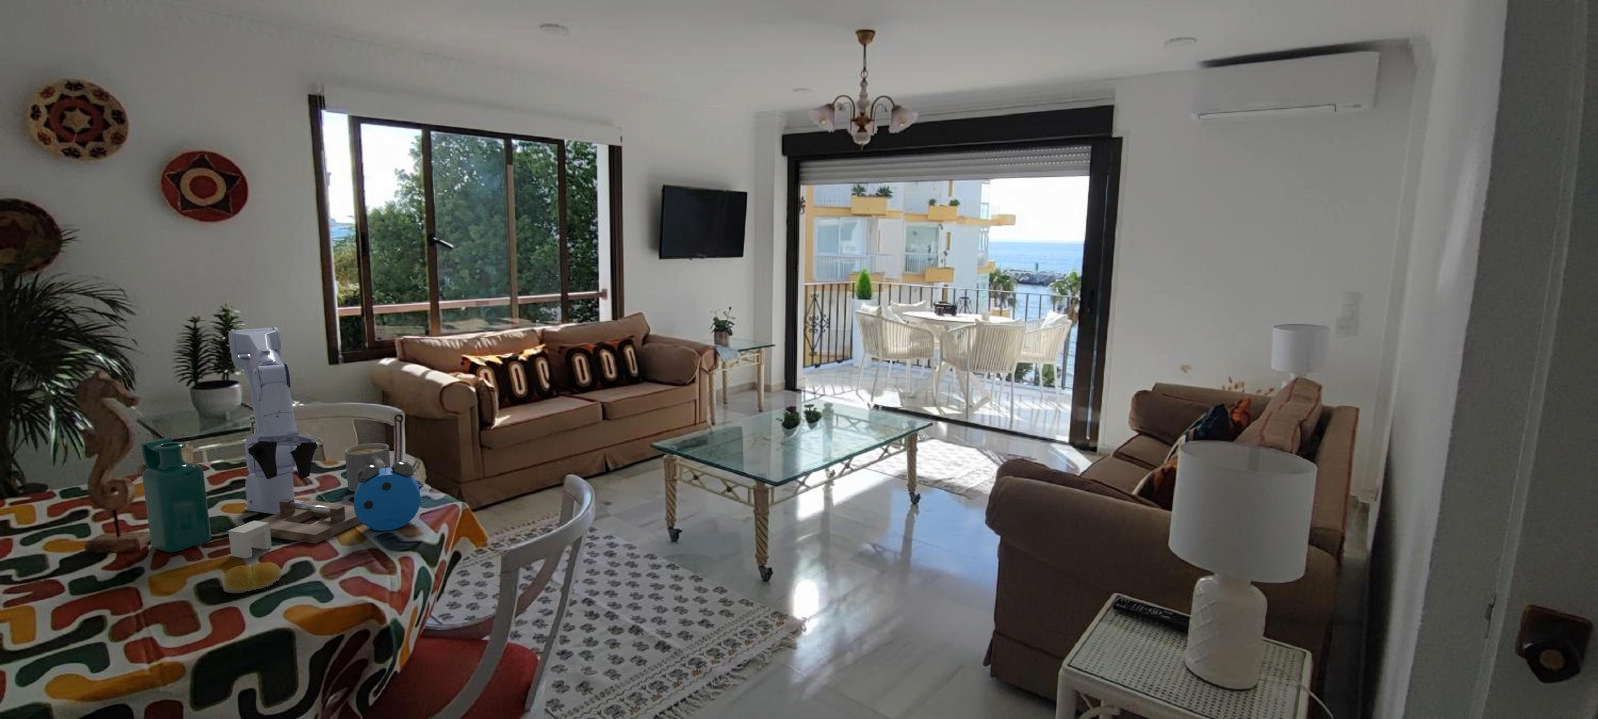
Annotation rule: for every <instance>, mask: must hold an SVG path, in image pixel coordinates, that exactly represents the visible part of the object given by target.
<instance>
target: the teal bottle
mask: <svg viewBox="0 0 1598 719" xmlns="http://www.w3.org/2000/svg"><path fill="white" fill-rule="evenodd" d="M140 445H141V447H140V448H141V451H142V455H143V461H144V464H145V466H146V470H144V471H143V473H142V476H141V477H142V485H143V486H142V487H143V492H144V500H145V508H146V515H147V516H146V517H147V524H148V530H149V538H150V545H151V547H152V548H155V549H157V550H159V551H163V552H166V553H176V552H181V551H183V550H184V551H185V550H187V549H190V548H193V547H195V546H198V545H201V544H205V543H207V542H209V541H210V540H211V539H212V532H211V524H210V516H209V515H210V514H209V508H208V506H209V505H208V499H207V490H206V481H205V472H204V469H203V467H202V466H201V465H200V464H197V463H193V462H189V461H185V460H184V458H183V451H182V449H184V448H185V447H187V443H186V442H184V441H173V439H172V437H164V438H159V439H155V440H150V441H145V442H141V444H140Z"/></svg>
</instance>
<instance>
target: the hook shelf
mask: <svg viewBox="0 0 1598 719" xmlns="http://www.w3.org/2000/svg"><path fill="white" fill-rule="evenodd" d="M290 502H294V499H285V500H282V501H279V505H280V513H277V514H271V515H270V516H267V517H264V518H262V519H259V520H258V521H260V522H267V523H269V526H270V536H271V538H276V539H282V540H283V539H284V540H291V541H297V542H302V543H303V542H304V543H308V542H309V543H310V544H315V543H316V544H318V543H320V542H323V541H325V540H327V539H329V538H331V537H333V536H335V535H337V534H340V533H342V532H344V531H346V530H348V529H350V528H353V527H355V526H358V525H359V524H362V523H361V522H360V520H359V519H358V518H357V516H356V514H355V511H354V505H351V504H350V505H348V504H341V503H334V502H329V501H328V502H327V501H320V500H313V499H310V500H308V501H304V503H303V504H309V505H317V506H324V507H331V508H330V514H328V513H320V512H313V511H306V510H299V509H292V508H288V504H289V503H290ZM314 517H315V518H323V520H321V521H318V522H316V523H313V524H307V523H302V522H305V521H307V520H309V519H312V518H314ZM326 538H327V539H326ZM309 543H308V544H309Z"/></svg>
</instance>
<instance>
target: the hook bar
mask: <svg viewBox="0 0 1598 719" xmlns="http://www.w3.org/2000/svg"><path fill="white" fill-rule="evenodd" d="M288 508H292V509H299V510H306V511H313V512H320V513H328V514H330V508H331V507H324V506H317V505H309V504H302V503H295V502H290V503H289V504H288Z"/></svg>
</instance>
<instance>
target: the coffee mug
mask: <svg viewBox="0 0 1598 719" xmlns="http://www.w3.org/2000/svg"><path fill="white" fill-rule="evenodd" d="M344 455H345V456H344V457H345V470H346V480H347V489H348V491H350V492H354V493H355V491H356V488H357V486H358V484H359V482H358V481H357V478H356V476H357V473H358V472H359V470H360V469H361V468H362V467H365V466H367V465H376V466H378V467H379V468H380V469H382V468H385V467H383V466H387V465H388V467H386V468H391V467H392V466H391V457H390V456H391V454H390V445H388V444H386V443H380V442H379V443H378V442H377V443H376V442H375V443H374V442H372V443H362V444H358V445H357V444H356V445H353V446H350V447H348V448H346V449H345V451H344Z"/></svg>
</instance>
